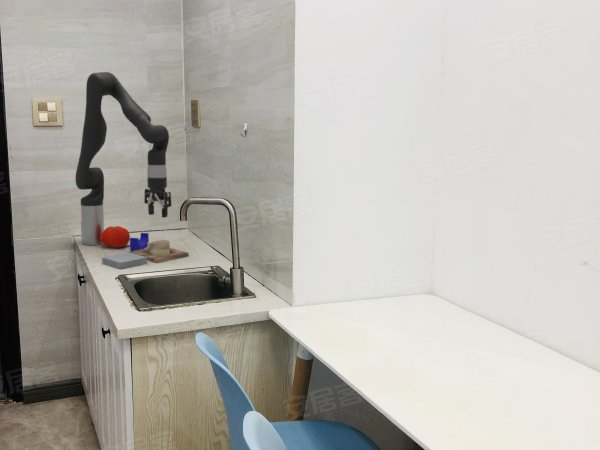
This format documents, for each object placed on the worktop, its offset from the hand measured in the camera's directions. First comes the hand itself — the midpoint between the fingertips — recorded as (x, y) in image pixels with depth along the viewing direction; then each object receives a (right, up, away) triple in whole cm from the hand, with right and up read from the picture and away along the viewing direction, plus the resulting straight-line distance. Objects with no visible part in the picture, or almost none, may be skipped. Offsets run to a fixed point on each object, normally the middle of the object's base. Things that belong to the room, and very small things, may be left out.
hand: (157, 215), depth 251 cm
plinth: (-10, -19, -10) cm, 24 cm away
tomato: (-22, -13, +17) cm, 31 cm away
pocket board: (0, -16, +3) cm, 17 cm away
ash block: (0, -16, +3) cm, 17 cm away
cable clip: (-12, -14, +14) cm, 23 cm away
